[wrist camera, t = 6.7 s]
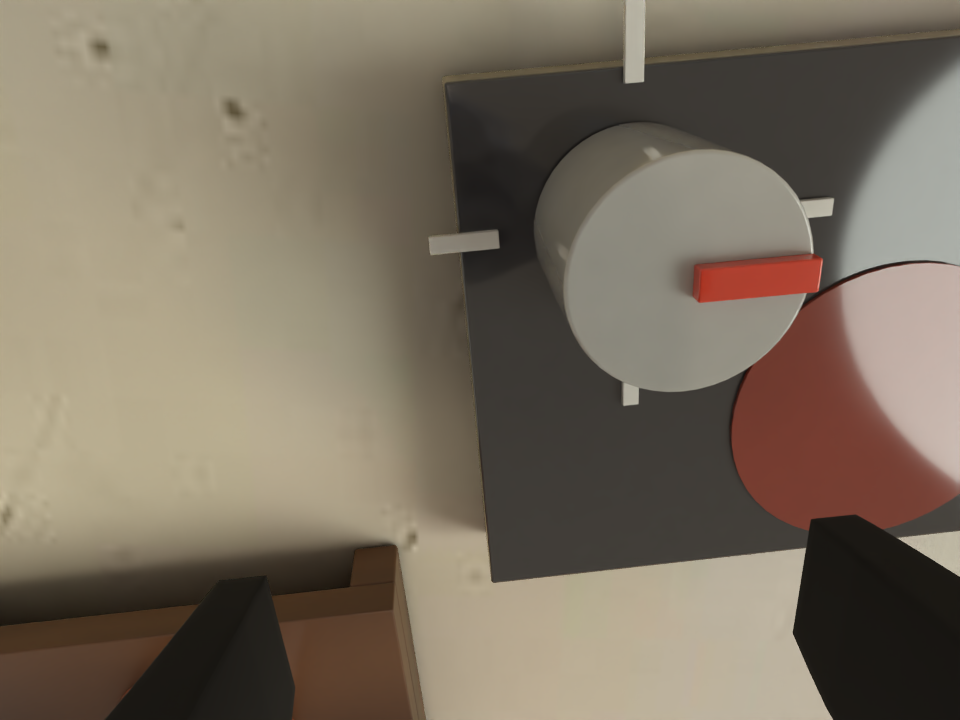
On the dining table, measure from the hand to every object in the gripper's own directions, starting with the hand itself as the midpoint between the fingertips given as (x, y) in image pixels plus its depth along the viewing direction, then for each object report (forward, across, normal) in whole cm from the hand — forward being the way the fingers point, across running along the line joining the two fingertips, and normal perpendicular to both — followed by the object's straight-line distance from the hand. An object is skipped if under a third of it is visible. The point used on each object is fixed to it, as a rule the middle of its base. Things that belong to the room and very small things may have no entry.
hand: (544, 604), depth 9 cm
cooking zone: (+7, -9, +2) cm, 11 cm away
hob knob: (+7, -3, -3) cm, 8 cm away
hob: (+9, -6, 0) cm, 11 cm away
